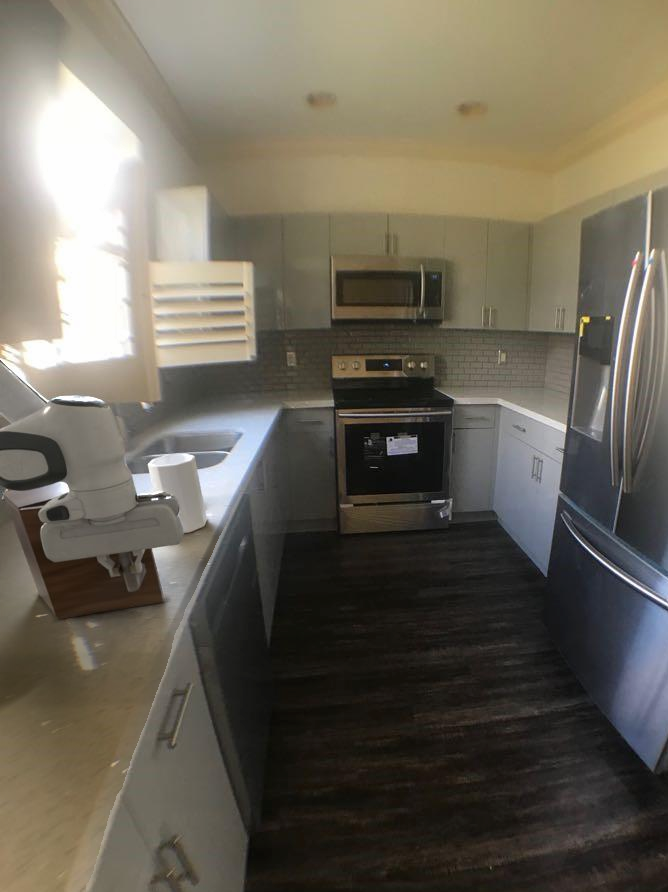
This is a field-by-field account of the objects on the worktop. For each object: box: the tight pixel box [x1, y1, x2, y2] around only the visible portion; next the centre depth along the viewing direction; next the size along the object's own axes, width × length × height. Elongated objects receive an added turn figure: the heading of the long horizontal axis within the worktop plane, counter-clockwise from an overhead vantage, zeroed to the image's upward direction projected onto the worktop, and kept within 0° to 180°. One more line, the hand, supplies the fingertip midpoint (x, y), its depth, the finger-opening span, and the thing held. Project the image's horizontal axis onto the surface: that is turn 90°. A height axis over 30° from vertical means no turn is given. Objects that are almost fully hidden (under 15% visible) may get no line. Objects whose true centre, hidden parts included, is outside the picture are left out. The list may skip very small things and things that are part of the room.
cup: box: [147, 453, 208, 534], centre depth 119 cm, size 11×11×18 cm
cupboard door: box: [19, 506, 165, 620], centre depth 80 cm, size 8×18×22 cm, turn 105°
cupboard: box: [2, 482, 69, 616], centre depth 92 cm, size 12×18×22 cm, turn 139°
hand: (127, 573), depth 78 cm, fingers closed on cupboard door, 2 cm apart
